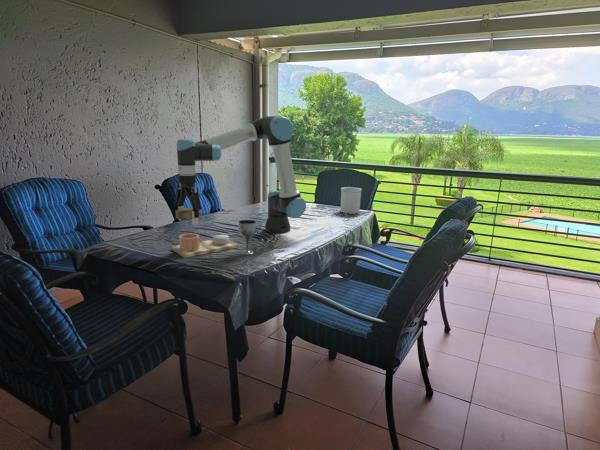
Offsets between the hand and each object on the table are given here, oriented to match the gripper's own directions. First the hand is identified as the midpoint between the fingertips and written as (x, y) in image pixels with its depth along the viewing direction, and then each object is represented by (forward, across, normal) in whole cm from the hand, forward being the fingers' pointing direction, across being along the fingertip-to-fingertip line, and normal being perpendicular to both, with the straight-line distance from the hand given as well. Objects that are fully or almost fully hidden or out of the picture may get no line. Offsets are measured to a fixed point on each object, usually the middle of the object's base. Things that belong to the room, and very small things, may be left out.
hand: (188, 222), depth 175 cm
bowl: (+13, 0, 0) cm, 13 cm away
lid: (-3, 0, 0) cm, 3 cm away
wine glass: (+14, +19, +19) cm, 31 cm away
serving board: (+14, +1, +8) cm, 16 cm away
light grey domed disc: (+13, +2, +16) cm, 21 cm away
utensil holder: (+14, -4, +135) cm, 136 cm away
